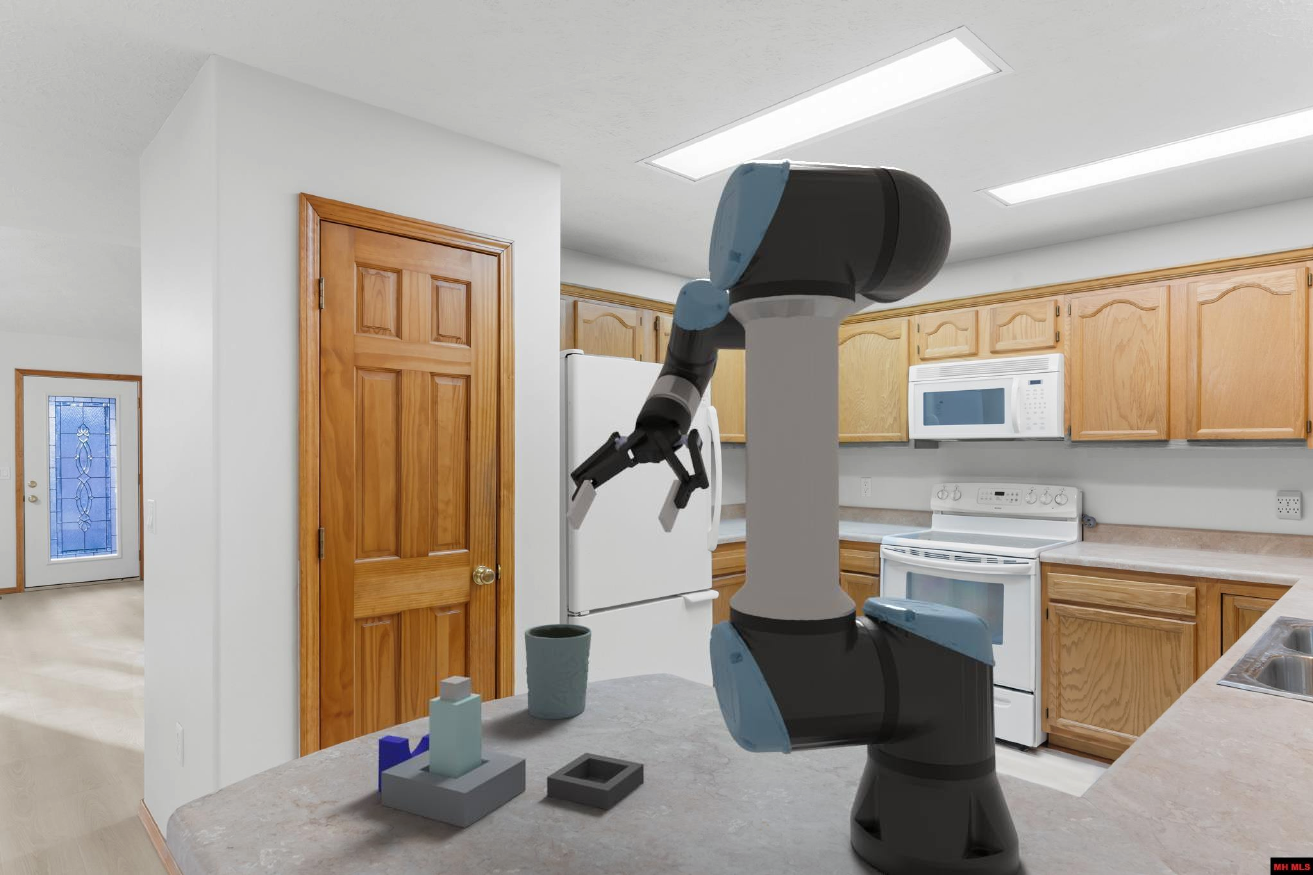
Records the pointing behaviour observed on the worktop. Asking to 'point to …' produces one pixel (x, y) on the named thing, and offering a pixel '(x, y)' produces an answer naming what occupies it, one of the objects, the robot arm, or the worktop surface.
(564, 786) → the frame
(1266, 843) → the worktop surface
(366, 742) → the worktop surface
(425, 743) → the cable clip
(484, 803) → the block
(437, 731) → the capped teal pillar
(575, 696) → the grey-green tumbler cup
